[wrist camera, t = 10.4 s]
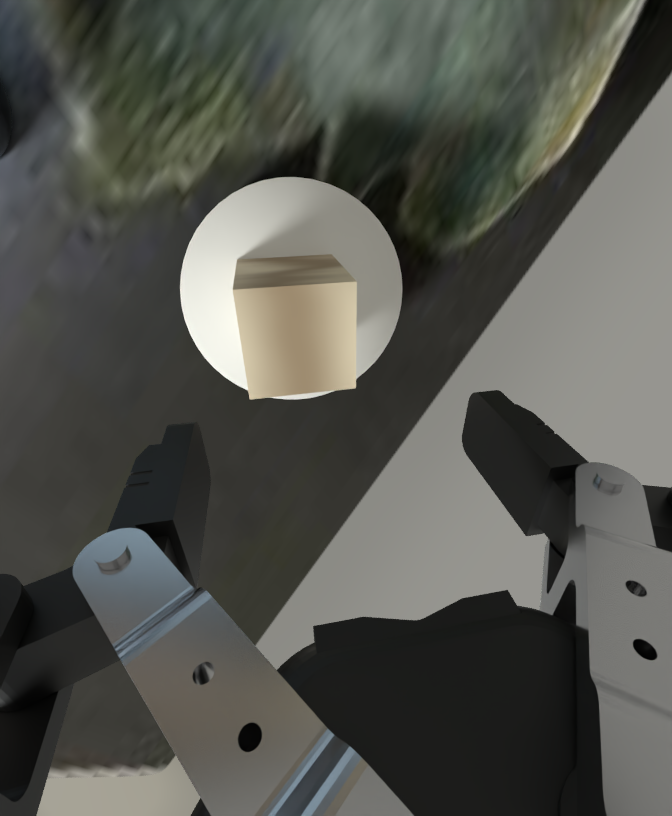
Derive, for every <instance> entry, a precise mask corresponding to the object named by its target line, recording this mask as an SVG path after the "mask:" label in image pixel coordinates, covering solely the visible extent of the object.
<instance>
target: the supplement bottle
mask: <svg viewBox="0 0 672 816" xmlns="http://www.w3.org/2000/svg"><path fill="white" fill-rule="evenodd" d="M11 133H12V113H11V107H10V103H9V99H8V96H7V93H6V90H5V88H4V85H3V83H2V81H1V79H0V156H1V155H2V154H3V153H4V151H5V150H6V148H7V146H8V144H9V141H10V138H11Z"/></svg>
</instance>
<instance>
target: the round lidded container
mask: <svg viewBox="0 0 672 816" xmlns="http://www.w3.org/2000/svg"><path fill="white" fill-rule="evenodd" d="M327 254H332V255H333V256H334V257H335V258H336V259H337V261H338V262H339V263H340V264H341V265H342V266H343V267H344V268H345V269H346V270H347V271H348V272H349V274H350V275H351V276H352V277H353V278H354V279H355V280H356V281H357V319H356V379H357V378H358V377H359V376H360V375H362V374H363V373H364V372H365V371H366V370H367V369H368V368H369V367H370V366H371V365H372V364H373V363H374V362H375V361H376V360H377V359H378V357H379V356H380V355H381V353H382V352H383V351H384V349H385V347H386V346H387V344H388V342H389V341H390V338H391V336H392V334H393V332H394V330H395V327H396V324H397V321H398V318H399V313H400V308H401V302H402V275H401V270H400V264H399V260H398V257H397V254H396V251H395V248H394V245H393V243H392V241H391V239H390V237H389V235H388V233H387V232H386V230H385V229H384V227H383V226H382V224H381V223H380V221H379V220H378V219H377V218H376V217H375V215H374V214H373V213H372V212H371V211H370V210H369V209H368V208H367V207H366V206H365V205H364V204H362V203H361V202H360V201H359V200H358V199H356V198H355V197H353V196H352V195H350V194H348V193H347V192H345V191H344V190H342V189H339V188H337V187H335V186H333V185H330V184H328V183H324V182H321V181H317V180H314V179H308V178H300V177H277V178H271V179H266V180H261V181H258V182H255V183H253V184H250V185H247V186H245V187H243V188H241V189H239V190H237V191H235V192H234V193H232V194H231V195H229V196H228V197H226V198H225V199H224V200H222V201H221V202H220V203H219V204H218V205H217V206H216V207H215V208H214V209H213V210H212V211H211V212H210V213H209V214H208V215H207V216H206V217H205V219H204V220H203V221H202V223H201V224H200V225H199V227H198V228H197V230H196V232H195V234H194V235H193V237H192V239H191V241H190V243H189V246H188V249H187V251H186V254H185V257H184V261H183V266H182V271H181V282H180V294H181V305H182V310H183V314H184V318H185V322H186V324H187V327H188V330H189V332H190V335H191V336H192V338H193V340H194V342H195V344H196V346H197V347H198V349H199V350H200V352H201V353H202V354H203V356H204V357H205V359H206V360H207V361H208V362H209V363H210V364H211V365H212V366H213V367H214V368H215V369H216V370H217V371H218V372H219V373H221V374H222V375H223V376H224V377H225V378H227V379H228V380H230V381H232V382H233V383H235V384H236V385H238V386H240V387H242V388H244V389H246V390H248V385H247V379H246V373H245V366H244V360H243V353H242V347H241V341H240V334H239V328H238V322H237V315H236V309H235V302H234V296H233V283H234V276H235V269H236V263H237V259H255V258H273V257H291V256H309V255H327ZM334 391H335V390H334ZM330 392H333V391H325V392H315V393H306V394H297V395H287V396H278V397H271V398H279V399H305V398H312V397H316V396H321V395H324V394H327V393H330Z"/></svg>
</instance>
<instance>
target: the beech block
mask: <svg viewBox="0 0 672 816" xmlns="http://www.w3.org/2000/svg"><path fill="white" fill-rule="evenodd" d="M233 296H234V302H235V309H236V315H237V322H238V328H239V334H240V341H241V347H242V353H243V360H244V366H245V373H246V379H247V385H248V392H249V398H250V399H259V398H269V397H278V396H287V395H297V394H306V393H315V392H325V391H334V390H343V389H352V388H356V319H357V281H356V280H355V279H354V278H353V277H352V276H351V275H350V274H349V272H348V271H347V270H346V269H345V268H344V267H343V266H342V265H341V264H340V263H339V262H338V261H337V259H336V258H335V257H334V256H333V255H332V254H327V255H309V256H291V257H273V258H255V259H237V263H236V269H235V276H234V283H233Z"/></svg>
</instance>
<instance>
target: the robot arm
mask: <svg viewBox="0 0 672 816" xmlns="http://www.w3.org/2000/svg"><path fill="white" fill-rule="evenodd" d="M462 443H463V447H464V450H465V452H466V454H467V456H468V457H469V459H470V460H471V461H472V463H473V464H474V465H475V467H476V468H477V470H478V471H479V472H480V474H481V475H482V476H483V478H484V479H485V480H486V482H487V483H488V485H489V486H490V487H491V489H492V490H493V491H494V493H495V494H496V495H497V497H498V498H499V500H500V501H501V502H502V504H503V505H504V506H505V508H506V509H507V511H508V512H509V513H510V515H511V516H512V517H513V518H514V520H515V522H516V523H517V524H518V526H519V527H520V528H521V530H522V531H523V532H524V534H525V535H526V536H531V535H537V534H542V533H545V535H546V536H547V537H548V540H547V543H546V545H545V552H544V566H543V580H542V592H541V604H540V610H536V609H532V608H527V607H522V606H517V605H516V603H515V602H514V600H513V598H512V597H511V595H510V593H509V592H508V590H505V591H500V592H494V593H489V594H484V595H479V596H473V597H468V598H462V599H460V600H458V601H457V602H455V603H453V604H451V605H449V606H447V607H445V608H443V609H441V610H439V611H437V612H435V613H433V614H432V615H430V616H428V617H426V618H424V619H421V620H417V621H416V620H415V621H413V620H399V619H386V618H372V617H360V618H355V619H350V620H344V621H339V622H334V623H328V624H323V625H317V626H313V629H314V641H315V643H313V644H311V645H309V646H307V647H305V648H303V649H302V650H301V651H299V652H297V653H296V654H294V655H293V656H292V657H290V658H289V659H288V660H287V661H286V662H285V663H284V664H282V665H281V666H280V668H279V669H278V670H276V669H275V668H274V667H273V666H272V665H271V664H270V662H269V661H268V660H267V659H266V658H265V657H264V655H263V654H262V653H261V652H260V651H259V650H258V649H257V648H256V646H255V645H254V644H253V643H252V642H251V641H250V640H249V638H248V637H247V636H246V635H245V634H244V633H243V632H242V630H241V629H240V628H239V627H238V626H237V625H236V624H235V623H234V621H233V620H232V619H231V618H230V617H229V616H228V615H227V613H226V612H225V611H224V610H223V609H222V608H221V607H220V605H219V604H218V603H217V602H216V601H215V600H214V599H213V597H212V596H211V595H210V594H209V593H208V592H207V591H206V590H204V589H203V588H199V589H197V584H198V576H199V569H200V561H201V553H202V546H203V538H204V531H205V523H206V515H207V508H208V500H209V493H210V469H209V464H208V460H207V456H206V452H205V448H204V443H203V439H202V435H201V431H200V427H199V425H198V423H197V422H191V423H181V424H172V425H168V426H167V428H166V431H165V434H164V437H163V441H162V444H157V445H149V446H148V447H147V448H146V449H145V450H144V451H143V452H142V453H141V454H140V455H139V456H138V457H137V458H136V460H135V463H134V465H133V468H132V470H131V476H129V478H128V480H127V483H126V488H124V491H123V493H122V496H121V498H120V501H119V503H118V506H117V508H116V511H115V513H114V516H113V518H112V521H111V524H110V526H109V529H108V531H107V533H106V534H104V535H102V536H100V537H98V538H96V539H95V540H93V541H92V542H91V543H90V544H88V545H87V546H86V547H85V548H84V549H83V550H82V551H81V553H80V554H79V555H78V557H77V559H76V560H75V563H74V565H73V566H72V567H70V568H68V569H66V570H64V571H61V572H59V573H56V574H54V575H51V576H48V577H46V578H43V579H41V580H38V581H36V582H33V583H31V584H28V585H25V586H23V585H22V584H21V582H20V581H19V580H18V579H17V578H16V577H14V576H12V575H8V574H0V816H36V814H37V811H38V807H39V804H40V801H41V797H42V794H43V790H44V787H45V783H46V780H47V776H48V773H49V769H50V766H51V762H52V759H53V755H54V752H55V748H56V745H57V741H58V738H59V734H60V731H61V727H62V724H63V721H64V717H65V714H66V710H67V707H68V703H69V700H70V696H71V693H72V689H73V686H74V683H75V682H77V681H79V680H81V679H83V678H85V677H87V676H89V675H91V674H93V673H95V672H97V671H99V670H101V669H103V668H105V667H107V666H109V665H111V664H113V663H115V662H117V661H119V660H121V661H122V663H123V665H124V667H125V668H126V670H127V672H128V673H129V675H130V677H131V679H132V680H133V682H134V684H135V686H136V687H137V689H138V691H139V692H140V694H141V696H142V698H143V699H144V701H145V703H146V704H147V706H148V708H149V710H150V711H151V713H152V715H153V717H154V718H155V720H156V722H157V723H158V725H159V727H160V729H161V730H162V732H163V734H164V736H165V737H166V739H167V741H168V742H169V744H170V746H171V748H172V749H173V751H174V753H175V754H176V756H177V758H178V760H179V761H180V763H181V765H182V766H183V768H184V770H185V772H186V773H187V775H188V777H189V779H190V780H191V782H192V784H193V785H194V787H195V789H196V791H197V792H198V794H199V796H200V800H199V802H198V803H197V805H196V807H195V809H194V811H193V812H192V814H191V816H672V487H671V488H667V487H657V486H646V485H641V483H640V482H639V481H638V480H637V479H636V478H635V477H633V476H632V475H630V474H629V473H627V472H626V471H624V470H622V469H619V468H617V467H615V466H612V465H608V464H604V463H596V462H591V463H589V462H587V460H585V459H584V458H583V457H582V456H581V455H580V454H579V453H578V452H577V451H575V450H574V449H573V448H572V447H571V446H569V444H567V443H566V442H565V441H564V440H563V439H562V438H561V437H560V436H559V435H557V434H554V431H553V430H552V429H551V428H550V427H549V426H547V425H545V423H544V422H543V421H542V420H541V419H540V418H538V417H537V416H536V415H535V414H534V413H532V412H531V411H529V410H527V409H525V408H523V407H521V406H519V405H516V404H514V403H513V402H512V401H510V400H509V399H508V398H507V397H506V396H505V395H504V394H503V393H502V392H501V391H498V390H495V391H486V392H477V393H473V394H472V395H471V396H470V398H469V403H468V408H467V413H466V418H465V423H464V428H463V434H462Z"/></svg>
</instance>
